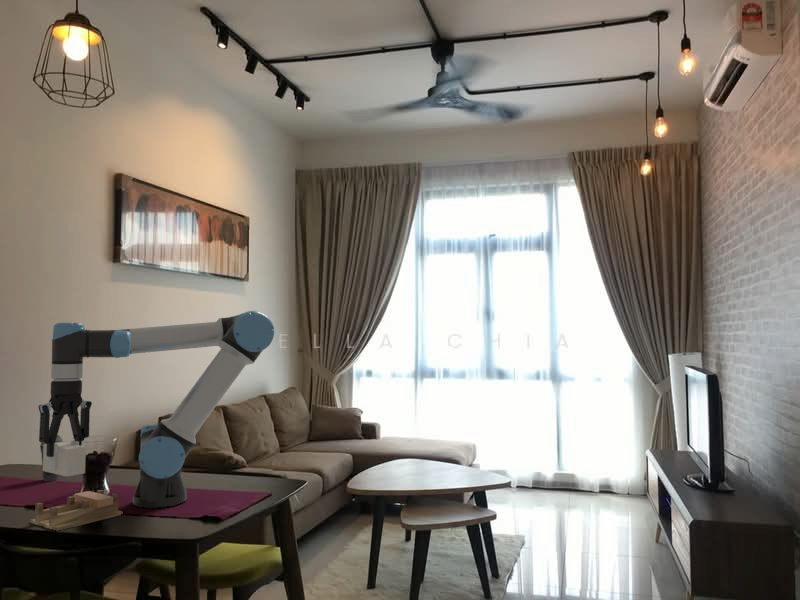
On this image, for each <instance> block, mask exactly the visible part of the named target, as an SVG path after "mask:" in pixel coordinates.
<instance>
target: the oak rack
mask: <svg viewBox="0 0 800 600" xmlns="http://www.w3.org/2000/svg"><path fill="white" fill-rule="evenodd" d="M104 491H105V490H103V489H97V490H96V493H99V494H103V495H105V492H104ZM110 495H111V496H112V497H113V504H112V505H108V506H104V507H100V508H97V507H93V506H89V500H82V503H78V502H75V497H73V495H70V496H67V497H66V498H67V499H66V504H63V505H57V506H52V507H49V508H45V509H44V503H43V502H37V503H36V502H35V508H34V511H35V512H34V518H32V519H30V524H34V525H37V526H38V527H39V526H40V527H42V526H43V528H46V529H50V530H52V529H53V531H55V530H56V532H58V531H59V530H60V531H62V530H67V529H71V528H74V527H79V526H83V525H88V524H90V523H94V522H99V521H102V520H107V519H110V518H115V517H118V516H121V514H122V515H124V514H123V511H121V510H119V493H115V492H114V493H111V494H110ZM60 531H59V532H60Z"/></svg>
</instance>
